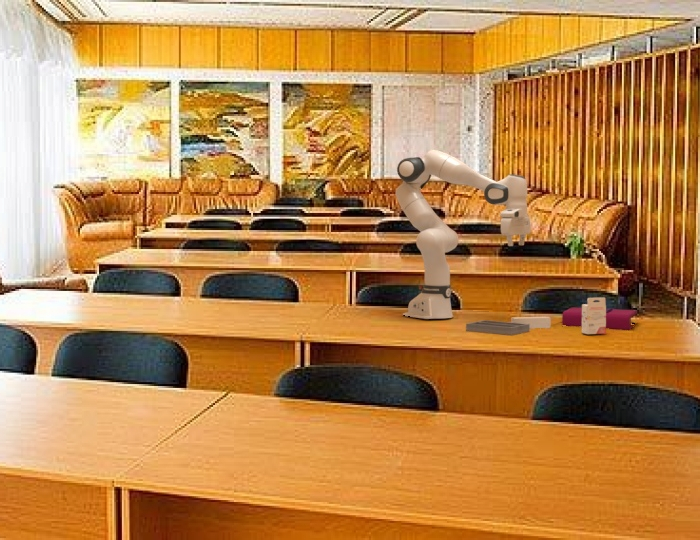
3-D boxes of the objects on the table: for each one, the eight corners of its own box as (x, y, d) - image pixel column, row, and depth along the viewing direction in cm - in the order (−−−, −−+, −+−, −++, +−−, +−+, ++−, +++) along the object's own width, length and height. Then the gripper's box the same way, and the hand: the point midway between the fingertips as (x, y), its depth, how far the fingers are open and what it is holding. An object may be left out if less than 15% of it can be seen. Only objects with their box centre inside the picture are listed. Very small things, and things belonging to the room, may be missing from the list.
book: (629, 332, 437) (630, 313, 437) (561, 328, 448) (562, 310, 448) (637, 326, 457) (637, 308, 456) (571, 322, 468) (572, 305, 467)
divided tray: (466, 330, 435) (466, 323, 435) (484, 327, 447) (484, 320, 447) (511, 335, 422) (511, 327, 422) (529, 331, 434) (529, 324, 434)
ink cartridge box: (599, 332, 434) (600, 296, 432) (605, 333, 429) (606, 297, 428) (580, 332, 431) (581, 296, 430) (586, 334, 426) (587, 297, 425)
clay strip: (514, 330, 439) (514, 318, 439) (510, 329, 443) (510, 317, 443) (550, 329, 443) (550, 317, 442) (546, 328, 447) (546, 316, 446)
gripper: (521, 212, 461) (521, 244, 462) (498, 213, 444) (497, 246, 445) (534, 212, 457) (534, 244, 458) (511, 213, 441) (511, 246, 442)
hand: (515, 245), depth 451 cm, fingers open, 8 cm apart
